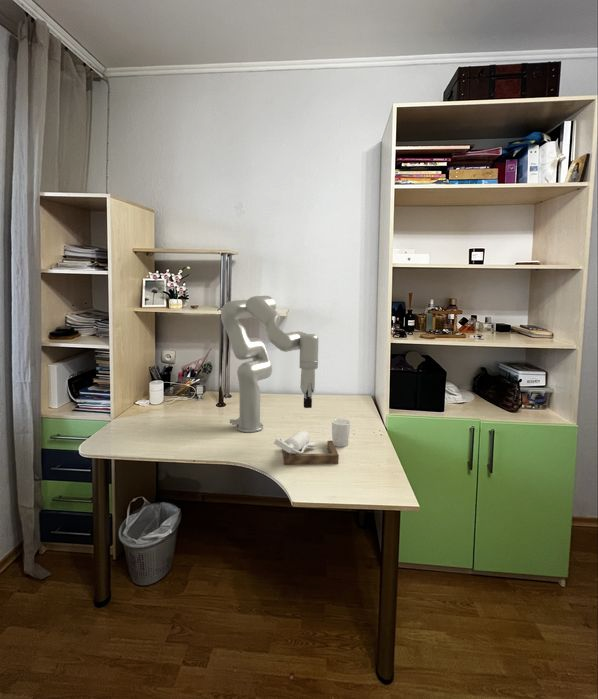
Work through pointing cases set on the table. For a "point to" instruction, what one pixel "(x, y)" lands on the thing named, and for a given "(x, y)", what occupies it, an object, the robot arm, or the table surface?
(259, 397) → the robot arm
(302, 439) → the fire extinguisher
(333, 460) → the u rest
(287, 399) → the table surface
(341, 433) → the white cup
